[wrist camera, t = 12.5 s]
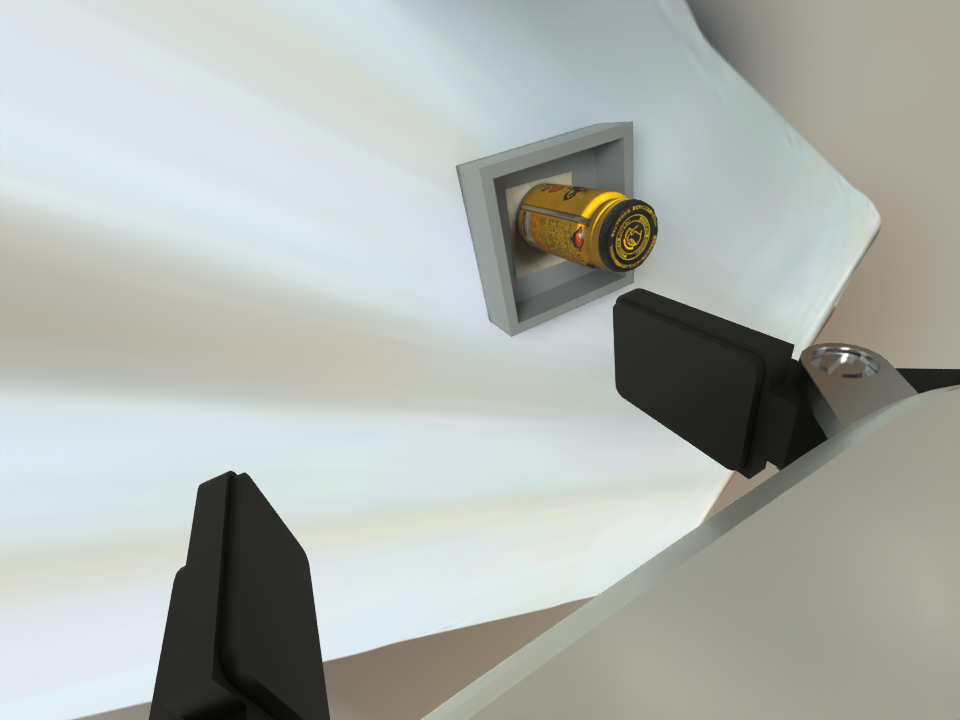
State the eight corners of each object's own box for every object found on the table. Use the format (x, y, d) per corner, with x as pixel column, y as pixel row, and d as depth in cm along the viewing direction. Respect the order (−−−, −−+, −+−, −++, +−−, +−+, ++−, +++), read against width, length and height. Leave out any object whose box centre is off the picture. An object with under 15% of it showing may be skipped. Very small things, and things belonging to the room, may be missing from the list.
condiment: (570, 171, 40) (672, 179, 30) (574, 257, 44) (664, 288, 34) (503, 188, 37) (590, 204, 28) (514, 278, 42) (593, 317, 32)
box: (455, 165, 35) (479, 168, 32) (597, 123, 39) (632, 121, 36) (489, 320, 43) (511, 336, 40) (604, 272, 47) (633, 282, 44)
